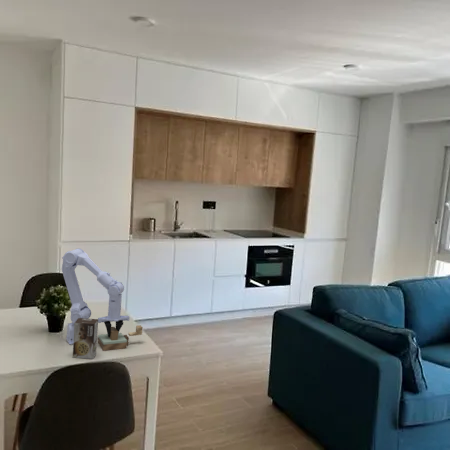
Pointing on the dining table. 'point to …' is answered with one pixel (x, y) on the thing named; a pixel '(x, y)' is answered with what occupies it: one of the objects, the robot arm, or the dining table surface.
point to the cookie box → (85, 338)
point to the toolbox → (113, 345)
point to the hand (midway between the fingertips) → (112, 336)
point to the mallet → (138, 331)
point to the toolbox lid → (112, 337)
